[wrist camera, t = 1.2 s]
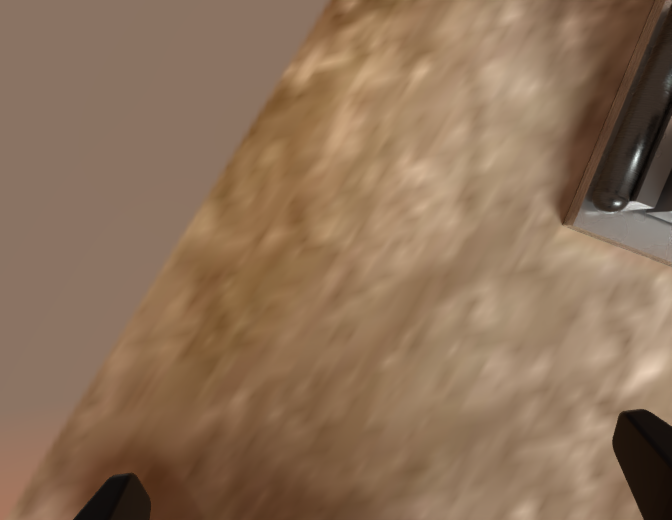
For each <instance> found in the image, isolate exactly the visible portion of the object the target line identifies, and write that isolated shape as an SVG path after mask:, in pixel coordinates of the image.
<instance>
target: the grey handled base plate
mask: <svg viewBox="0 0 672 520" xmlns="http://www.w3.org/2000/svg"><path fill="white" fill-rule="evenodd" d="M671 168H672V0H655V2H654V4H653V7H652V9H651V12H650V14H649V17H648V19H647V21H646V24H645V26H644V29H643V31H642V34H641V36H640V39H639V41H638V43H637V46H636V48H635V51H634V53H633V56H632V58H631V60H630V63H629V65H628V68H627V70H626V73H625V75H624V78H623V80H622V82H621V85H620V87H619V90H618V92H617V95H616V97H615V100H614V102H613V104H612V107H611V109H610V112H609V114H608V117H607V119H606V121H605V124H604V126H603V129H602V131H601V134H600V136H599V139H598V141H597V143H596V146H595V148H594V151H593V153H592V156H591V158H590V160H589V163H588V165H587V168H586V170H585V173H584V175H583V178H582V180H581V182H580V185H579V187H578V190H577V192H576V195H575V197H574V200H573V202H572V204H571V207H570V209H569V212H568V214H567V217H566V219H565V221H564V224H563V226H566V227H568V228H571V229H574V230H576V231H579V232H582V233H584V234H587V235H590V236H592V237H595V238H598V239H600V240H603V241H606V242H608V243H611V244H614V245H616V246H619V247H621V248H624V249H627V250H629V251H632V252H635V253H637V254H640V255H643V256H645V257H648V258H651V259H653V260H656V261H659V262H661V263H664V264H667V265H669V266H672V223H671V222H668V221H666V220H663V219H660V218H658V217H655V216H652V215H650V214H647V213H645V212H646V210H647V209H651V208H655V206H656V204H657V201H658V199H659V197H660V194H661V192H662V190H663V187H664V185H665V182H666V180H667V178H668V175H669V173H670V171H671Z"/></svg>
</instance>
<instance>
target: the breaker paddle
mask: <svg viewBox="0 0 672 520" xmlns="http://www.w3.org/2000/svg"><path fill="white" fill-rule="evenodd" d="M645 213H647V214H650V215H652V216H655V217H658V218H660V219H663V220H666V221H668V222H671V223H672V168H671V171H670V173H669V175H668V178H667V180H666V182H665V185H664V187H663V190H662V192H661V194H660V197H659V199H658V201H657V204H656V206H655V208H651V209H647V210H646V212H645Z"/></svg>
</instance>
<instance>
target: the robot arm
mask: <svg viewBox="0 0 672 520" xmlns="http://www.w3.org/2000/svg"><path fill="white" fill-rule="evenodd" d="M612 444H613V449H614V452H615V455H616V457H617V460H618V462H619V464H620V466H621V469H622V471H623V473H624V476H625V478H626V480H627V482H628V485H629V487H630V489H631V492H632V494H633V496H634V498H635V501H636V503H637V505H638V508H639V510H640V512H641V514H642V517H643V519H644V520H672V426H670V425H669V424H667V423H666V422H665V421H663V420H662V419H660V418H659V417H657V416H656V415H654V414H653V413H651V412H649V411H647V410H644V409H636V410H628V411H623V412H621V413H620V414H619V416H618V420H617V424H616V428H615V431H614V435H613V440H612ZM150 510H151V502H150V498H149V495H148V494H147V492H146V490H145V489H144V487H143V485H142V484H141V482H140V480H139V479H138V477H137V476H136V475H135V474H134V473H125V474H117V475H113V476H112V477H110V478H109V479H108V480H107V481H106V482H105V483H104V484H103V485H102V487H101V488H100V489H99V490H98V491H97V492H96V493H95V495H94V496H93V497H92V498H91V499H90V500H89V502H88V503H87V504H86V505H85V506H84V507H83V509H82V510H81V511H80V512H79V513H78V514H77V516H76V517H75V518H74V519H73V520H149V518H150Z"/></svg>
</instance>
